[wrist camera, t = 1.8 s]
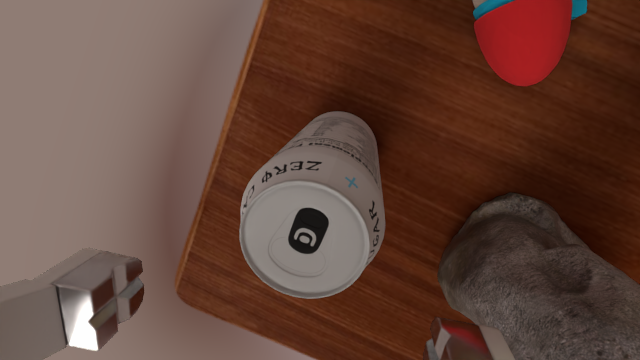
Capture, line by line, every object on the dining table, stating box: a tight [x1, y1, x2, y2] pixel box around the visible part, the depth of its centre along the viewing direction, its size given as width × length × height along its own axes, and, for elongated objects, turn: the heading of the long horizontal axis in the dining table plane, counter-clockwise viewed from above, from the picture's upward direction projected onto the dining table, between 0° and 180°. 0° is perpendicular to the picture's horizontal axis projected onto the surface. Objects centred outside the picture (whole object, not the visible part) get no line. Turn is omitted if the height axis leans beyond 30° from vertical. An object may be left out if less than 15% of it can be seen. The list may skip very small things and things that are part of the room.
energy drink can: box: [239, 111, 385, 299], centre depth 19 cm, size 6×6×15 cm
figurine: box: [438, 192, 640, 360], centre depth 19 cm, size 13×12×18 cm
